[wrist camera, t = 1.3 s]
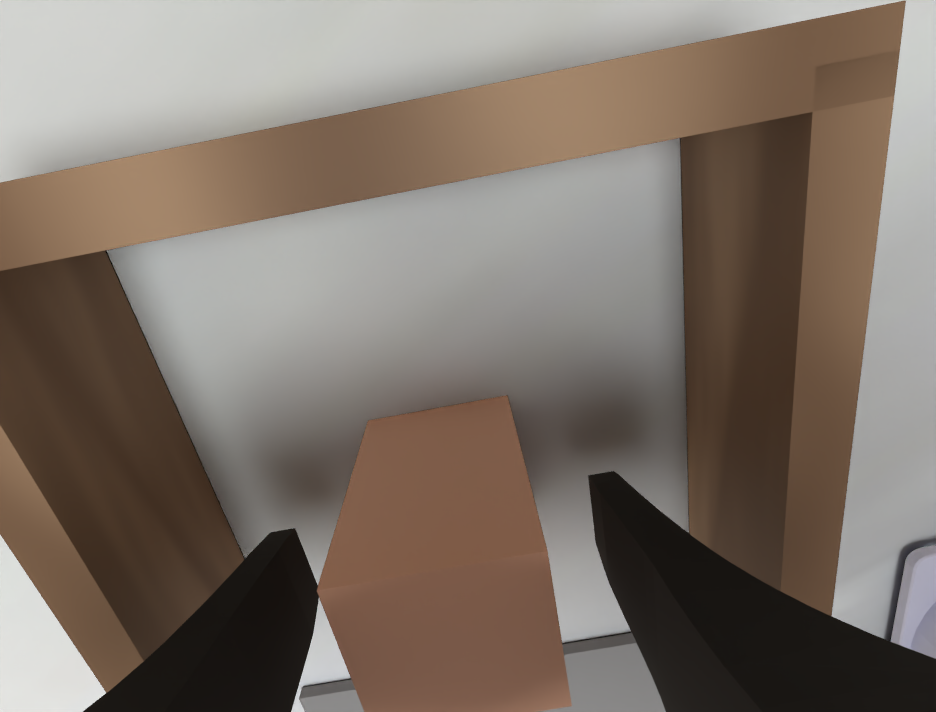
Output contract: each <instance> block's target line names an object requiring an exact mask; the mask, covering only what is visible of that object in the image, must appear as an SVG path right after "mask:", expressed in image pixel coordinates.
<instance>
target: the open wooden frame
mask: <svg viewBox="0 0 936 712" xmlns="http://www.w3.org/2000/svg"><path fill="white" fill-rule="evenodd" d="M905 2H906V1H901V2H896V3H891V4H886V5H881V6H876V7H871V8H866V9H861V10H856V11H851V12H846V13H841V14H836V15H831V16H826V17H821V18H816V19H811V20H806V21H801V22H796V23H791V24H786V25H781V26H776V27H772V28H767V29H762V30H757V31H752V32H747V33H742V34H737V35H732V36H727V37H722V38H717V39H712V40H707V41H702V42H697V43H692V44H687V45H682V46H677V47H672V48H667V49H662V50H657V51H652V52H647V53H642V54H637V55H632V56H627V57H622V58H618V59H613V60H608V61H603V62H598V63H593V64H588V65H583V66H578V67H573V68H568V69H563V70H558V71H553V72H548V73H543V74H538V75H533V76H528V77H523V78H518V79H513V80H508V81H503V82H498V83H493V84H488V85H483V86H478V87H473V88H468V89H464V90H459V91H454V92H449V93H444V94H439V95H434V96H429V97H424V98H419V99H414V100H409V101H404V102H399V103H394V104H389V105H384V106H379V107H374V108H369V109H364V110H359V111H354V112H349V113H344V114H339V115H334V116H329V117H324V118H319V119H314V120H310V121H305V122H300V123H295V124H290V125H285V126H280V127H275V128H270V129H265V130H260V131H255V132H250V133H245V134H240V135H235V136H230V137H225V138H220V139H215V140H210V141H205V142H200V143H195V144H190V145H185V146H180V147H175V148H170V149H165V150H161V151H156V152H151V153H146V154H141V155H136V156H131V157H126V158H121V159H116V160H111V161H106V162H101V163H96V164H91V165H86V166H81V167H76V168H71V169H66V170H61V171H56V172H51V173H46V174H41V175H36V176H31V177H26V178H21V179H16V180H11V181H7V182H2V183H0V535H1V536H2V538H3V539H4V541H5V542H6V544H7V545H8V546H9V548H10V549H11V551H12V552H13V554H14V555H15V557H16V558H17V560H18V561H19V563H20V564H21V566H22V567H23V569H24V570H25V572H26V573H27V575H28V576H29V578H30V579H31V581H32V582H33V584H34V585H35V587H36V588H37V590H38V591H39V593H40V594H41V596H42V597H43V599H44V600H45V602H46V603H47V605H48V606H49V608H50V609H51V611H52V612H53V614H54V615H55V617H56V618H57V620H58V621H59V623H60V624H61V626H62V627H63V629H64V630H65V632H66V633H67V635H68V636H69V638H70V639H71V641H72V642H73V644H74V645H75V646H76V648H77V649H78V651H79V652H80V654H81V655H82V657H83V658H84V660H85V661H86V663H87V664H88V666H89V667H90V669H91V670H92V672H93V673H94V675H95V676H96V678H97V679H98V681H99V682H100V684H101V685H102V687H103V688H104V690H105V691H106V693H107V692H109V691H110V690H111V689H112V688H113V687H115V686H116V685H117V684H118V683H119V682H120V681H122V680H123V679H124V678H125V677H126V676H127V675H128V674H130V673H131V672H132V671H133V670H134V669H135V668H137V667H138V666H139V665H140V664H141V663H142V662H143V661H145V660H146V659H147V658H148V657H149V656H150V655H151V654H152V653H153V652H154V651H156V650H157V649H158V648H159V647H160V646H161V645H162V644H163V643H164V642H165V641H166V640H167V639H168V638H169V637H170V636H171V635H172V634H173V633H174V632H175V631H176V630H177V629H178V628H179V627H180V626H181V625H182V624H183V623H184V622H185V621H186V620H187V619H188V618H189V617H190V616H191V615H192V614H193V613H194V612H195V611H196V610H197V609H198V608H199V607H200V606H201V605H202V604H203V603H204V602H205V601H206V600H207V599H208V598H209V597H210V596H211V595H212V594H213V593H214V592H215V591H216V590H217V589H218V588H219V587H220V585H221V584H222V583H223V582H224V581H225V580H226V579H227V578H228V577H229V576H230V575H231V574H232V573H233V572H234V571H235V569H236V568H237V567H238V566H239V565H240V564H241V563H242V562H243V561H244V557H243V555H242V553H241V551H240V549H239V546H238V544H237V542H236V540H235V538H234V535H233V533H232V531H231V529H230V526H229V524H228V522H227V520H226V518H225V515H224V513H223V511H222V509H221V507H220V504H219V502H218V500H217V498H216V495H215V493H214V491H213V489H212V487H211V484H210V482H209V480H208V478H207V475H206V473H205V471H204V469H203V467H202V464H201V462H200V460H199V458H198V456H197V453H196V451H195V449H194V447H193V444H192V442H191V440H190V438H189V436H188V433H187V431H186V429H185V427H184V425H183V422H182V420H181V418H180V416H179V413H178V411H177V409H176V407H175V405H174V402H173V400H172V398H171V396H170V393H169V391H168V389H167V387H166V385H165V382H164V380H163V378H162V376H161V374H160V371H159V369H158V367H157V365H156V362H155V360H154V358H153V356H152V354H151V351H150V349H149V347H148V345H147V342H146V340H145V338H144V336H143V334H142V331H141V329H140V327H139V325H138V323H137V320H136V318H135V316H134V314H133V311H132V309H131V307H130V305H129V303H128V300H127V298H126V296H125V294H124V292H123V289H122V287H121V285H120V283H119V280H118V278H117V276H116V274H115V272H114V269H113V267H112V265H111V263H110V260H109V258H108V256H107V254H106V252H105V250H110V249H115V248H120V247H125V246H130V245H135V244H140V243H145V242H150V241H156V240H161V239H166V238H171V237H176V236H181V235H186V234H191V233H196V232H202V231H207V230H212V229H217V228H222V227H227V226H232V225H237V224H242V223H247V222H253V221H258V220H263V219H268V218H273V217H278V216H283V215H288V214H293V213H299V212H304V211H309V210H314V209H319V208H324V207H329V206H334V205H339V204H345V203H350V202H355V201H360V200H365V199H370V198H375V197H380V196H385V195H391V194H396V193H401V192H406V191H411V190H416V189H421V188H426V187H431V186H436V185H442V184H447V183H452V182H457V181H462V180H467V179H472V178H477V177H482V176H488V175H493V174H498V173H503V172H508V171H513V170H518V169H523V168H528V167H534V166H539V165H544V164H549V163H554V162H559V161H564V160H569V159H574V158H580V157H585V156H590V155H595V154H600V153H605V152H610V151H615V150H620V149H625V148H631V147H636V146H641V145H646V144H651V143H656V142H661V141H666V140H671V139H677V138H681V174H682V219H683V265H684V310H685V355H686V401H687V446H688V491H689V534H690V535H691V536H693V537H694V538H696V539H697V540H698V541H700V542H701V543H703V544H704V545H705V546H707V547H708V548H710V549H711V550H713V551H714V552H716V553H717V554H718V555H720V556H721V557H723V558H724V559H726V560H728V561H729V562H731V563H732V564H734V565H736V566H737V567H739V568H741V569H742V570H744V571H746V572H747V573H749V574H751V575H752V576H754V577H756V578H757V579H759V580H761V581H763V582H764V583H766V584H768V585H770V586H772V587H773V588H775V589H777V590H779V591H781V592H783V593H785V594H787V595H789V596H791V597H793V598H795V599H797V600H799V601H801V602H803V603H804V604H806V605H808V606H810V607H812V608H815V609H817V610H819V611H821V612H823V613H825V614H827V615H829V616H831V615H832V607H833V599H834V590H835V582H836V574H837V566H838V557H839V549H840V541H841V533H842V524H843V516H844V508H845V499H846V491H847V483H848V475H849V466H850V458H851V450H852V441H853V433H854V425H855V417H856V408H857V400H858V392H859V383H860V375H861V367H862V359H863V350H864V342H865V334H866V325H867V317H868V309H869V301H870V292H871V284H872V276H873V267H874V259H875V251H876V243H877V234H878V226H879V218H880V209H881V201H882V193H883V185H884V176H885V168H886V160H887V152H888V143H889V135H890V127H891V118H892V110H893V102H894V94H895V85H896V77H897V69H898V60H899V52H900V44H901V36H902V27H903V19H904V11H905Z"/></svg>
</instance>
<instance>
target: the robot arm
mask: <svg viewBox="0 0 936 712" xmlns="http://www.w3.org/2000/svg"><path fill="white" fill-rule="evenodd" d="M588 477H589V486H590V495H591V504H592V513H593V522H594V532H595V541H596V545H597V548H598V551H599V554H600V557H601V560H602V563H603V566H604V569H605V572H606V575H607V578H608V581H609V584H610V586H611V588H612V590H613V593H614V595H615V597H616V599H617V601H618V604H619V606H620V608H621V610H622V612H623V615H624V617H625V619H626V621H627V623H628V625H629V628H630V630H631V632H632V634H633V636H634V638H635V641H636V643H637V645H638V647H639V649H640V651H641V654H642V656H643V658H644V660H645V662H646V664H647V667H648V669H649V671H650V673H651V675H652V678H653V680H654V683H655V685H656V687H657V690H658V692H659V695H660V697H661V700H662V703H663V705H664V708H665V711H666V712H936V545H933V546H927V547H921V548H918V549H915V550H914V551H912V552H911V553H910V554H909V555H908V556H907V558H906V561H905V566H904V572H903V577H902V583H901V588H900V593H899V599H898V604H897V609H896V615H895V620H894V626H893V631H892V636H891V642H890V641H887V640H885V639H882V638H880V637H877V636H875V635H872V634H870V633H868V632H866V631H863V630H861V629H859V628H856V627H854V626H852V625H850V624H847V623H845V622H843V621H840V620H838V619H836V618H834V617H832V616H829V615H827V614H825V613H823V612H821V611H819V610H817V609H815V608H812V607H810V606H808V605H806V604H804V603H803V602H801V601H799V600H797V599H795V598H793V597H791V596H789V595H787V594H785V593H783V592H781V591H779V590H777V589H775V588H773V587H772V586H770V585H768V584H766V583H764V582H763V581H761V580H759V579H757V578H756V577H754V576H752V575H751V574H749V573H747V572H746V571H744V570H742V569H741V568H739V567H737V566H736V565H734V564H732V563H731V562H729V561H728V560H726V559H724V558H723V557H721V556H720V555H718V554H717V553H716V552H714V551H713V550H711V549H710V548H708V547H707V546H705V545H704V544H703V543H701V542H700V541H698V540H697V539H696V538H694V537H693V536H691V535H690V534H689V533H687V532H686V531H685V530H683V529H682V528H681V527H680V526H678V525H677V524H676V523H674V522H673V521H672V520H671V519H669V518H668V517H667V516H666V515H664V514H663V513H662V512H661V511H659V510H658V509H657V508H656V507H655V506H653V505H652V504H651V503H650V502H649V501H648V500H646V499H645V498H644V497H643V496H642V495H641V494H639V493H638V492H637V491H636V490H635V489H634V488H633V487H632V486H631V485H629V484H628V483H627V482H626V481H625V480H624V479H623V478H622V477H621V476H620V475H619V474H617V473H616V472H614V471H611V472H606V473H600V474H595V475H589V476H588ZM317 588H318V585H317V583H316V580H315V578H314V575H313V573H312V570H311V568H310V565H309V563H308V560H307V557H306V555H305V552H304V550H303V547H302V545H301V542H300V540H299V537H298V535H297V532H296V529H295V528H293V529H288V530H282V531H277V532H271V533H270V534H269V535H268V536H267V537H266V538H265V539H264V540H263V541H262V542H261V543H260V544H259V545H258V546H257V547H256V548H255V549H254V550H253V551H252V552H251V553H250V554H249V555H248V556H247V558H246V559H245V560H244V561H243V562H242V563H241V564H240V565H239V566H238V567H237V568H236V569H235V571H234V572H233V573H232V574H231V575H230V576H229V577H228V578H227V579H226V580H225V581H224V582H223V583H222V584H221V585H220V587H219V588H218V589H217V590H216V591H215V592H214V593H213V594H212V595H211V596H210V597H209V598H208V599H207V600H206V601H205V602H204V603H203V604H202V605H201V606H200V607H199V608H198V609H197V610H196V611H195V612H194V613H193V614H192V615H191V616H190V617H189V618H188V619H187V620H186V621H185V622H184V623H183V624H182V625H181V626H180V627H179V628H178V629H177V630H176V631H175V632H174V633H173V634H172V635H171V636H170V637H169V638H168V639H167V640H166V641H165V642H164V643H163V644H162V645H161V646H160V647H159V648H158V649H157V650H156V651H154V652H153V653H152V654H151V655H150V656H149V657H148V658H147V659H146V660H145V661H143V662H142V663H141V664H140V665H139V666H138V667H137V668H135V669H134V670H133V671H132V672H131V673H130V674H128V675H127V676H126V677H125V678H124V679H123V680H122V681H120V682H119V683H118V684H117V685H116V686H115V687H113V688H112V689H111V690H110V691H109V692H107V693H106V694H105V695H103V696H102V697H101V698H100V699H98V700H97V701H96V702H95V703H93V704H92V705H91V706H89V707H88V708H87V709H86V710H84V711H83V712H291V710H292V706H293V703H294V699H295V696H296V692H297V689H298V686H299V682H300V679H301V675H302V672H303V668H304V665H305V661H306V657H307V654H308V650H309V647H310V643H311V639H312V636H313V631H314V625H315V619H316V613H317V606H318V598H319V595H318V593H317Z"/></svg>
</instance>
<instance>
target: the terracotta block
mask: <svg viewBox="0 0 936 712" xmlns="http://www.w3.org/2000/svg"><path fill="white" fill-rule="evenodd" d="M317 593H318V595H319V598H320V601H321V603H322V606H323V608H324V611H325V613H326V616H327V618H328V621H329V623H330V626H331V628H332V631H333V634H334V636H335V639H336V641H337V644H338V646H339V649H340V651H341V654H342V656H343V659H344V661H345V664H346V667H347V669H348V672H349V674H350V677H351V679H352V682H353V684H354V687H355V689H356V692H357V695H358V697H359V700H360V702H361V705H362V707H363V710H364V712H539V711H545V710H551V709H557V708H563V707H569V706H572V703H571V697H570V691H569V684H568V678H567V672H566V665H565V659H564V653H563V646H562V640H561V634H560V627H559V621H558V615H557V608H556V602H555V596H554V589H553V583H552V577H551V570H550V564H549V558H548V551H547V547H546V543H545V540H544V536H543V532H542V528H541V524H540V520H539V516H538V512H537V509H536V505H535V501H534V497H533V493H532V489H531V485H530V481H529V477H528V474H527V470H526V466H525V462H524V458H523V454H522V450H521V446H520V443H519V439H518V435H517V431H516V427H515V423H514V419H513V415H512V412H511V408H510V404H509V400H508V396H507V395H506V396H500V397H495V398H489V399H484V400H478V401H473V402H467V403H462V404H456V405H451V406H445V407H440V408H434V409H429V410H423V411H418V412H412V413H407V414H401V415H396V416H391V417H385V418H380V419H374V420H369V421H368V422H367V425H366V429H365V432H364V435H363V439H362V442H361V445H360V449H359V452H358V455H357V459H356V462H355V465H354V468H353V472H352V475H351V478H350V482H349V485H348V488H347V492H346V495H345V498H344V502H343V505H342V508H341V512H340V515H339V518H338V521H337V525H336V528H335V531H334V535H333V538H332V541H331V545H330V548H329V551H328V555H327V558H326V561H325V565H324V568H323V571H322V574H321V578H320V581H319V584H318V588H317Z"/></svg>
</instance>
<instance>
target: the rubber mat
mask: <svg viewBox="0 0 936 712" xmlns="http://www.w3.org/2000/svg"><path fill="white" fill-rule="evenodd" d="M562 646H563V653H564V659H565V665H566V672H567V678H568V684H569V691H570V697H571V703H572V706H569V707H563V708H557V709H551V710H545V711H539V712H666V711H665V708H664V705H663V703H662V700H661V697H660V695H659V692H658V690H657V687H656V685H655V683H654V680H653V678H652V675H651V673H650V671H649V669H648V667H647V664H646V662H645V660H644V658H643V656H642V654H641V651H640V649H639V647H638V645H637V643H636V641H635V638H634V636H633V634H632V633H627V634H621V635H615V636H609V637H603V638H597V639H591V640H585V641H579V642H573V643H567V644H562ZM299 700H300V702H301V704H302V706H303V708H304V710H305V712H364V710H363V707H362V705H361V702H360V700H359V697H358V695H357V692H356V689H355V687H354V684H353V682H352V679H351V680H345V681H339V682H333V683H327V684H321V685H315V686H309V687H303V688H302V690H301V694H300V697H299Z"/></svg>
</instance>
